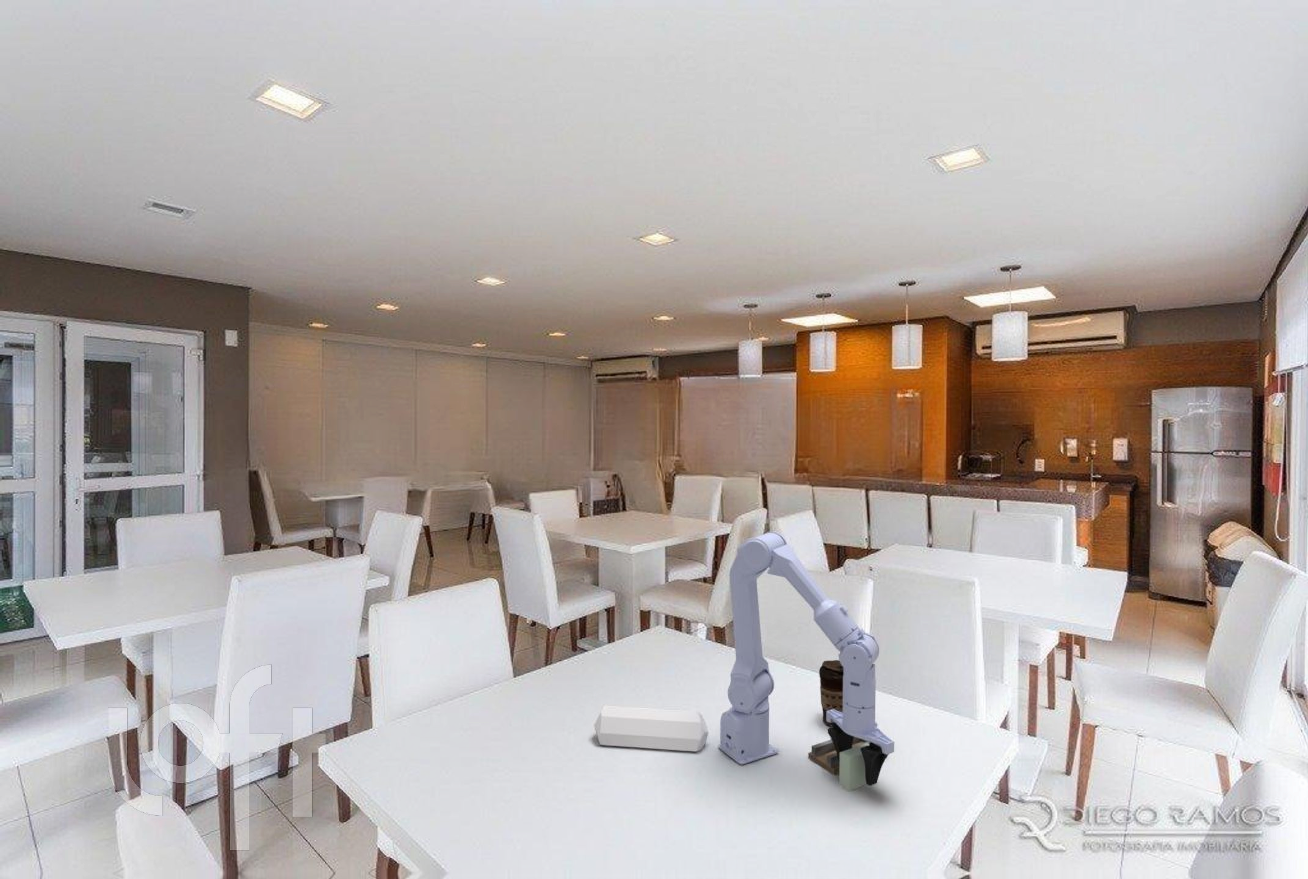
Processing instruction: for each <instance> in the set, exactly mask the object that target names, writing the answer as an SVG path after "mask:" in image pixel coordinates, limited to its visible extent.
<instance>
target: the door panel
mask: <svg viewBox="0 0 1308 879" xmlns="http://www.w3.org/2000/svg"><path fill="white" fill-rule="evenodd" d="M865 746H869V744H867V743H866V744H863V745H860V746H857V747H854V748H852V749H849V750H846V751H843V752H840V768H839V773H838V774H839V775H838V776H839V778H838V779H839V780H838V781H839V782H838V783H839V786H841V787H842V788H844V789H845V790H847V791H848V792H851V791H854V790H855V789H858V788H861V787H863V786H866V785H867V784H866V779H865V763H864V758H863V755H862V752H861V748H862V747H865Z"/></svg>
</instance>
